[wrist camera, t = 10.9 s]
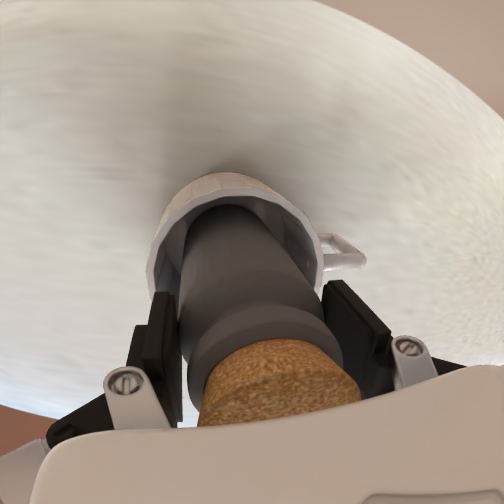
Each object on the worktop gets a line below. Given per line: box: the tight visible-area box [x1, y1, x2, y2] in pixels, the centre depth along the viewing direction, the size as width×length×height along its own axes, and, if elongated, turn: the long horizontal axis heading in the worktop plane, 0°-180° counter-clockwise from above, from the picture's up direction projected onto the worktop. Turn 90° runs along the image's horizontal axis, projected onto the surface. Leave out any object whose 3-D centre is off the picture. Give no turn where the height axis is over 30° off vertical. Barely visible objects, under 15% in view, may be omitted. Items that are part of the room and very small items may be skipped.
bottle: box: [178, 204, 362, 427], centre depth 14 cm, size 6×6×15 cm
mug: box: [146, 172, 367, 321], centre depth 19 cm, size 13×9×7 cm
